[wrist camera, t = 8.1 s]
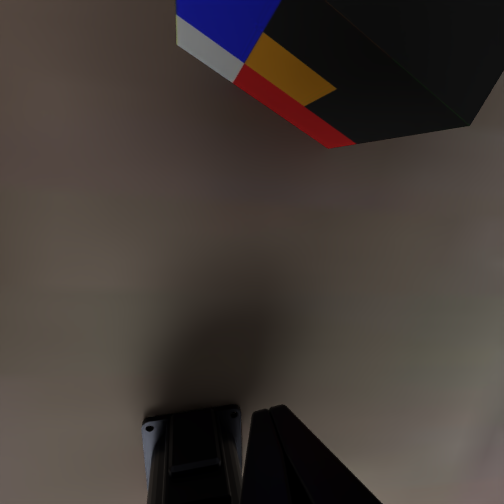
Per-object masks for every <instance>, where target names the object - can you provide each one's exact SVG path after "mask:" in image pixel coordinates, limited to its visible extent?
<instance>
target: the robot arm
mask: <svg viewBox="0 0 504 504" xmlns="http://www.w3.org/2000/svg"><path fill="white" fill-rule="evenodd" d="M232 412H236V413H234V414H231V413H232ZM148 425H152V427H148ZM142 439H143V449H144V459H145V469H146V479H147V489H148V496H147V504H382V503H381V502H380V501H379V500H378V499H377V498H376V497H375V496H374V495H373V494H372V493H371V492H370V491H369V490H368V489H367V487H366V486H365V485H364V484H363V483H362V482H361V481H360V480H359V479H358V478H357V477H356V476H355V475H354V474H353V473H352V472H351V471H350V470H349V469H348V468H347V467H346V466H345V465H344V464H343V463H342V462H341V461H340V460H339V459H338V458H337V457H336V456H335V455H334V454H333V453H332V452H331V451H330V450H329V449H328V448H327V447H326V446H325V445H324V444H323V443H322V442H321V441H320V440H319V439H318V438H317V437H316V436H315V435H314V434H313V433H312V432H311V431H310V430H309V429H308V428H307V427H306V426H305V425H304V424H303V423H302V422H301V421H300V420H299V419H298V417H297V416H296V415H295V414H294V413H293V412H292V411H291V410H290V409H289V408H288V407H287V406H285V405H283V404H282V405H278V406H274V407H271V408H270V409H269V410H268V409H262V410H258V411H255V412H253V414H252V418H251V425H250V432H249V439H248V446H247V453H246V459H245V466H244V473H243V478H242V455H241V411H240V407H239V406H238V405H227V406H220V407H214V408H207V409H201V410H194V411H188V412H181V413H175V414H168V415H162V416H155V417H149V418H146V419H145V420H144V421H143V423H142Z"/></svg>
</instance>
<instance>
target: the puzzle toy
mask: <svg viewBox="0 0 504 504" xmlns="http://www.w3.org/2000/svg"><path fill="white" fill-rule="evenodd" d="M175 4H176V43H177V45H178V46H179V47H181V48H182V49H184V50H185V51H187V52H188V53H190V54H191V55H193V56H194V57H195V58H197V59H198V60H200V61H201V62H203V63H204V64H206V65H207V66H209V67H210V68H211V69H213V70H214V71H216V72H217V73H219V74H220V75H222V76H223V77H225V78H226V79H227V80H229V81H230V82H232V83H233V84H235V85H236V86H238V87H239V88H241V89H242V90H243V91H245V92H246V93H248V94H249V95H251V96H252V97H254V98H255V99H257V100H258V101H259V102H261V103H262V104H264V105H265V106H267V107H268V108H270V109H271V110H273V111H274V112H275V113H277V114H278V115H280V116H281V117H283V118H284V119H286V120H287V121H289V122H290V123H291V124H293V125H294V126H296V127H297V128H299V129H300V130H302V131H303V132H305V133H306V134H307V135H309V136H310V137H312V138H313V139H315V140H316V141H318V142H319V143H321V144H322V145H323V146H325V147H326V148H328V149H329V148H335V147H341V146H348V145H354V144H360V143H366V142H372V141H378V140H385V139H391V138H397V137H403V136H409V135H415V134H422V133H428V132H434V131H440V130H446V129H452V128H459V127H465V126H470V125H471V123H472V121H473V120H474V118H475V117H476V115H477V113H478V112H479V110H480V108H481V107H482V105H483V103H484V102H485V100H486V99H487V97H488V95H489V94H490V92H491V90H492V89H493V87H494V85H495V84H496V82H497V81H498V79H499V77H500V76H501V74H502V72H503V71H504V0H175Z"/></svg>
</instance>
